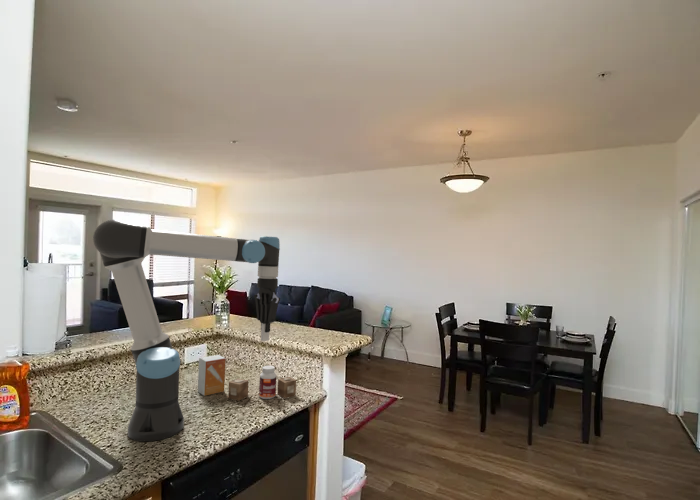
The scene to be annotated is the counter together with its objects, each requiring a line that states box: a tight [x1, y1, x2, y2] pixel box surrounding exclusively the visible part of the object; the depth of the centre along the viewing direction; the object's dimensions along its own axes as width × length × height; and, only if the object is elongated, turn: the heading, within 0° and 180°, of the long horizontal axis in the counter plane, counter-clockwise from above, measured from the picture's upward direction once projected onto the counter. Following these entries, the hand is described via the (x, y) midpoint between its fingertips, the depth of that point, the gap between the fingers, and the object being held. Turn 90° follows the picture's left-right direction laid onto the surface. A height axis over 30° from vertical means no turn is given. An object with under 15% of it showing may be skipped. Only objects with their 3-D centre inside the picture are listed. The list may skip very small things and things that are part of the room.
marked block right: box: [277, 376, 297, 399], centre depth 150 cm, size 5×5×6 cm
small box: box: [197, 354, 226, 397], centre depth 151 cm, size 8×6×13 cm
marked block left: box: [227, 377, 249, 402], centre depth 146 cm, size 5×5×6 cm
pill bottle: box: [258, 365, 277, 400], centre depth 148 cm, size 6×6×11 cm
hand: (264, 340), depth 147 cm, fingers closed
